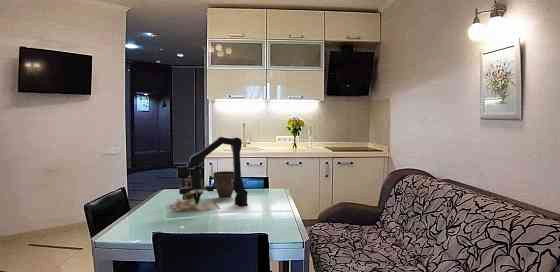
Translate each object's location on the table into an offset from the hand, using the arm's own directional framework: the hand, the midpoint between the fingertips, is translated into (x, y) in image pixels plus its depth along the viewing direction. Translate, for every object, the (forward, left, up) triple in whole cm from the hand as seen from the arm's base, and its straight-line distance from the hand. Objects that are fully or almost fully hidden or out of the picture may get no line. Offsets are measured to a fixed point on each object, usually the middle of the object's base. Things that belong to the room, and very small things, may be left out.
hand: (197, 204), depth 221 cm
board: (+1, 0, -2) cm, 3 cm away
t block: (+7, 0, -1) cm, 7 cm away
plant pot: (-21, -25, -2) cm, 33 cm away
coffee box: (+1, -18, -2) cm, 18 cm away
